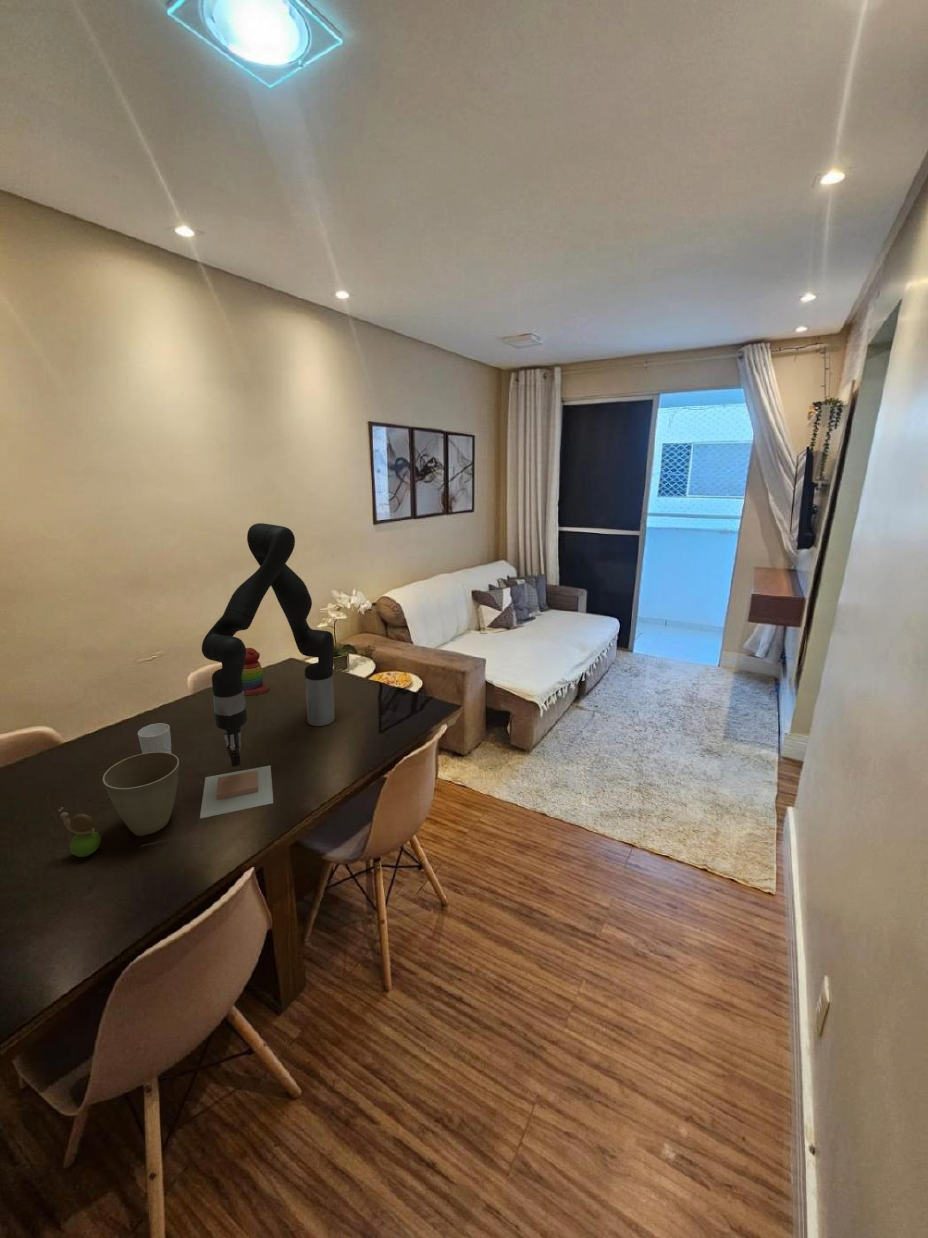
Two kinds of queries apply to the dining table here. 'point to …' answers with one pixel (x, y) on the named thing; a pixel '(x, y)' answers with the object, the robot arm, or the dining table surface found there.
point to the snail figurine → (81, 834)
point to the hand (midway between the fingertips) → (236, 764)
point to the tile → (237, 785)
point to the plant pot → (143, 790)
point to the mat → (237, 802)
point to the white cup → (155, 738)
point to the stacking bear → (253, 674)
